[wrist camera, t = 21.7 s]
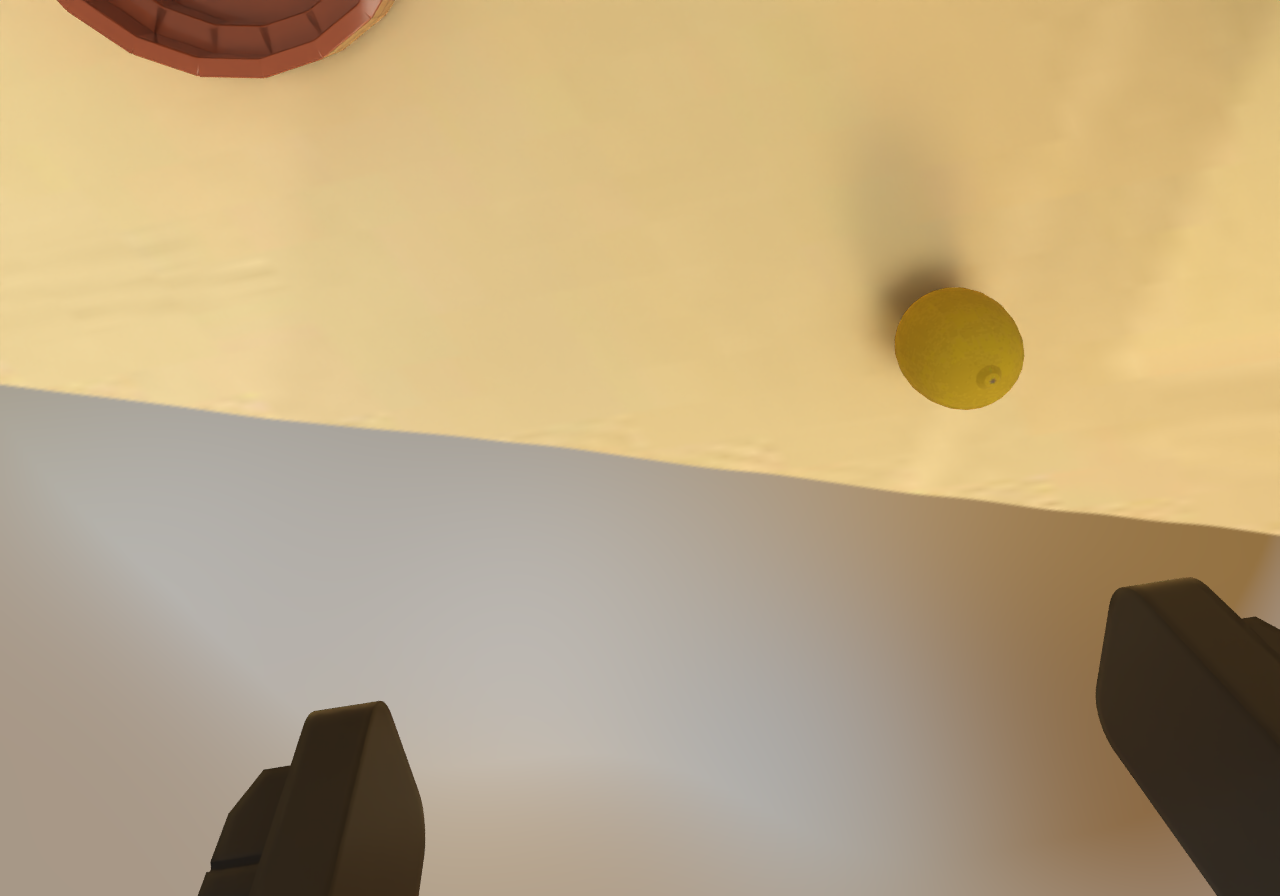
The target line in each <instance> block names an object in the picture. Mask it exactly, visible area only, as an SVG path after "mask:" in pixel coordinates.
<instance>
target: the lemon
mask: <svg viewBox="0 0 1280 896" xmlns="http://www.w3.org/2000/svg"><path fill="white" fill-rule="evenodd" d="M895 354H896V358H897V361H898V364H899V367H900V369H901V371H902V373H903V375H904V376H905V377H906V379H907V380H908V382H909V383H910V384H911V386H912V387H913V388H914V389H915V390H917V391H918V392H919V393H921V394H922V395H923V396H925V397H926V398H927V399H929V400H931V401H932V402H935V403H937V404H940V405H943V406H945V407H948V408H952V409H963V410H969V409H976V408H981V407H984V406H987V405H989V404H992V403H994V402H995V401H997V400H998V399H1000V398H1002V397H1003V396H1004V395H1005V394H1006V393H1007V392H1008V391H1009V390H1010V389H1011V388H1012V386H1013V385H1014V384H1015V382H1016V381H1017V379H1018V377H1019V374H1020V372H1021V370H1022V366H1023V360H1024V349H1023V340H1022V337H1021V335H1020V333H1019V330H1018V328H1017V326H1016V324H1015V322H1014V320H1013V319H1012V317H1011V316H1010V315H1009V314H1008V313H1007V311H1006V310H1005V309H1004V308H1003V307H1002V306H1001V305H1000V304H999V303H998V302H996V301H995V300H993V299H992V298H990V297H988V296H986V295H985V294H983V293H981V292H978V291H974V290H970V289H966V288H961V287H958V288H943V289H939V290H935V291H932V292H930V293H928V294H926V295H924V296H922V297H921V298H919V299H918V300H917V301H916V302H914V303H913V304H912V305H911V306H910V307H909V308H908V310H907V311H906V312H905V313H904V315H903V316H902V319H901V321H900V323H899V325H898V327H897V332H896V336H895Z"/></svg>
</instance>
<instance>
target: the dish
mask: <svg viewBox="0 0 1280 896" xmlns="http://www.w3.org/2000/svg"><path fill="white" fill-rule="evenodd" d="M57 1H58V2H59V3H60V4H61V5H62V6H63V7H64V8H65V9H66V10H67V11H68V12H69V13H71V14H72V15H74V16H75V17H77V18H78V19H80V20H81V21H83V22H84V23H86V24H87V25H89V26H90V27H92V28H93V29H95V30H96V31H98V32H99V33H101V34H102V35H104V36H105V37H107V38H108V39H110V40H111V41H113V42H114V43H116V44H117V45H119V46H120V47H122V48H123V49H125V50H126V51H128V52H129V53H131V54H132V53H133V54H134V55H136V56H139V57H142V58H145V59H148V60H151V61H154V62H157V63H160V64H163V65H166V66H169V67H172V68H175V69H178V70H181V71H184V72H187V73H190V74H193V75H196V76H200V77H228V78H267V77H270V76H273V75H276V74H279V73H282V72H285V71H288V70H291V69H294V68H297V67H300V66H303V65H306V64H309V63H312V62H315V61H318V60H321V59H324V58H326V57H328V56H331V55H333V54H335V53H337V52H340V51H342V50H344V49H345V48H346V47H347V46H349V45H350V44H351V43H352V42H354V41H355V40H356V39H357V38H358V37H360V36H361V35H362V34H363V33H364V32H366V31H367V30H368V29H369V28H371V27H372V26H373V25H374V24H375V23H377V22H378V21H379V20H380V19H382V18H383V17H384V16H385V15H386V13H387V12H388V11H389V10H390V8H391V6H392V5H393V3H394V1H395V0H57Z"/></svg>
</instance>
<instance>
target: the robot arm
mask: <svg viewBox="0 0 1280 896" xmlns="http://www.w3.org/2000/svg"><path fill="white" fill-rule="evenodd" d="M1096 705H1097V711H1098V715H1099V719H1100V722H1101V725H1102V728H1103V731H1104V733H1105V735H1106V738H1107V739H1108V741H1109V743H1110V745H1111V747H1112V748H1113V750H1114V751H1115V753H1116V754H1117V755H1118V757H1119V758H1120V760H1121V761H1122V762H1123V764H1124V765H1125V767H1126V768H1127V770H1128V771H1129V772H1130V774H1131V775H1132V776H1133V778H1134V779H1135V780H1136V782H1137V784H1138V785H1139V786H1140V788H1141V789H1142V791H1143V792H1144V793H1145V795H1146V796H1147V798H1148V799H1149V800H1150V802H1151V803H1152V805H1153V806H1154V807H1155V809H1156V810H1157V812H1158V813H1159V814H1160V816H1161V817H1162V819H1163V820H1164V821H1165V823H1166V824H1167V826H1168V827H1169V828H1170V830H1171V831H1172V833H1173V834H1174V836H1175V837H1176V838H1177V840H1178V841H1179V843H1180V844H1181V846H1182V847H1183V848H1184V850H1185V851H1186V853H1187V854H1188V855H1189V857H1190V858H1191V859H1192V861H1193V862H1194V864H1195V865H1196V867H1197V868H1198V869H1199V871H1200V872H1201V874H1202V875H1203V876H1204V878H1205V879H1206V881H1207V882H1208V884H1209V885H1210V886H1211V888H1212V889H1213V891H1214V892H1215V893H1216V895H1217V896H1280V629H1277V628H1276V627H1274V626H1272V625H1270V624H1268V623H1266V622H1264V621H1263V620H1261V619H1259V618H1257V617H1250V618H1243V619H1241V618H1240V617H1239V616H1238V615H1237V614H1236V613H1235V612H1234V611H1233V610H1232V609H1231V608H1230V607H1229V606H1228V605H1226V603H1225V602H1223V601H1222V600H1221V599H1220V598H1219V597H1218V596H1217V595H1216V594H1215V593H1214V592H1213V591H1212V590H1211V589H1210V588H1209V587H1208V586H1206V585H1205V584H1204V583H1203V582H1201V581H1199V580H1197V579H1195V578H1191V577H1186V578H1179V579H1173V580H1167V581H1160V582H1154V583H1148V584H1141V585H1134V586H1128V587H1122V588H1119V589H1117V590H1116V591H1115V592H1114V594H1113V595H1112V598H1111V601H1110V605H1109V611H1108V617H1107V623H1106V630H1105V636H1104V642H1103V648H1102V654H1101V661H1100V667H1099V673H1098V679H1097V686H1096ZM424 851H425V824H424V813H423V807H422V802H421V797H420V794H419V791H418V788H417V785H416V783H415V780H414V777H413V774H412V771H411V769H410V766H409V763H408V760H407V757H406V754H405V752H404V749H403V746H402V743H401V740H400V737H399V735H398V732H397V729H396V726H395V723H394V721H393V718H392V715H391V712H390V710H389V708H388V706H387V705H386V704H385V703H384V702H383V701H376V702H370V703H363V704H357V705H351V706H344V707H338V708H332V709H325V710H319V711H314V712H312V713H310V714H309V716H308V717H307V719H306V721H305V723H304V726H303V729H302V732H301V735H300V738H299V741H298V744H297V747H296V750H295V753H294V757H293V760H292V763H291V766H284V767H278V768H272V769H265V770H263V771H262V773H261V774H260V775H259V776H258V778H257V779H256V780H255V781H254V783H253V784H252V785H251V787H250V788H249V789H248V790H247V791H246V793H245V794H244V795H243V796H242V798H241V799H240V800H239V802H238V803H237V804H236V805H235V807H234V808H233V809H232V810H231V812H230V813H229V814H228V817H227V819H226V822H225V825H224V827H223V830H222V833H221V836H220V838H219V841H218V843H217V846H216V848H215V851H214V854H213V856H212V859H211V871H210V872H206V875H205V878H204V880H203V883H202V886H201V889H200V891H199V894H198V896H419V889H420V881H421V875H422V868H423V860H424Z"/></svg>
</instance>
